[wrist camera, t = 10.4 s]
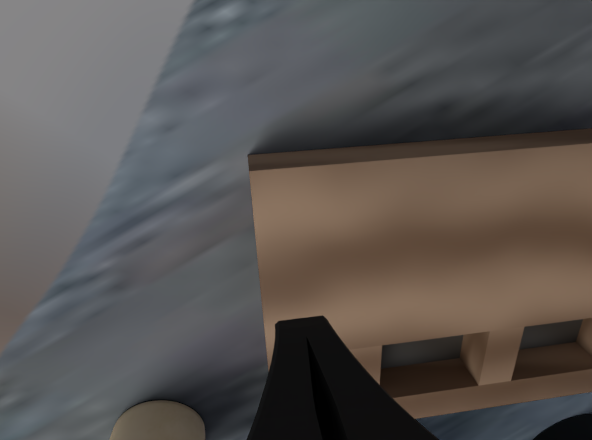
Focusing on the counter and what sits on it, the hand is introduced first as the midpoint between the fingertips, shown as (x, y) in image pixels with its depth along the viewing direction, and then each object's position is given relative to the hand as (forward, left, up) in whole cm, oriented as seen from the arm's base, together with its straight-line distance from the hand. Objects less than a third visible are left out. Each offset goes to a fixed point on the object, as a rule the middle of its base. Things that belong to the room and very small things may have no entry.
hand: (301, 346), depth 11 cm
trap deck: (-5, -13, -9) cm, 17 cm away
